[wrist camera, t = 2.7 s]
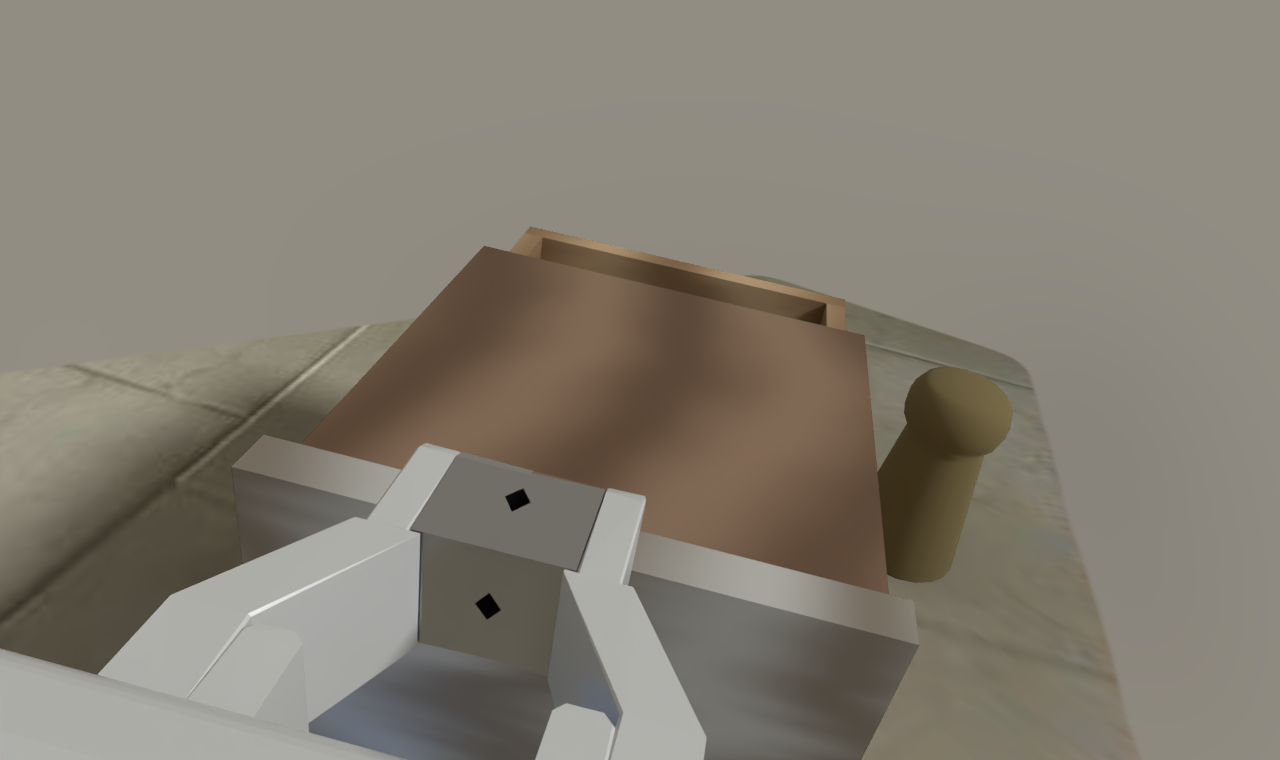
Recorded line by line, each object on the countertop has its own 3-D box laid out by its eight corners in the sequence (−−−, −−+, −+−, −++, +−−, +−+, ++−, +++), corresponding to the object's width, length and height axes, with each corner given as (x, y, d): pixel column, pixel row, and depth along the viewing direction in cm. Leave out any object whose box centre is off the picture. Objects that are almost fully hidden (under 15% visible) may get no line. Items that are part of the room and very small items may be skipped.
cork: (931, 512, 51) (1001, 358, 45) (967, 586, 46) (1053, 424, 40) (835, 502, 50) (895, 345, 45) (862, 577, 45) (933, 410, 40)
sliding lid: (261, 722, 22) (231, 466, 18) (472, 405, 35) (486, 213, 31) (802, 875, 21) (919, 644, 17) (809, 489, 34) (875, 303, 30)
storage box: (388, 721, 34) (393, 389, 25) (501, 502, 46) (530, 226, 37) (732, 816, 33) (856, 503, 24) (755, 567, 45) (844, 299, 36)
